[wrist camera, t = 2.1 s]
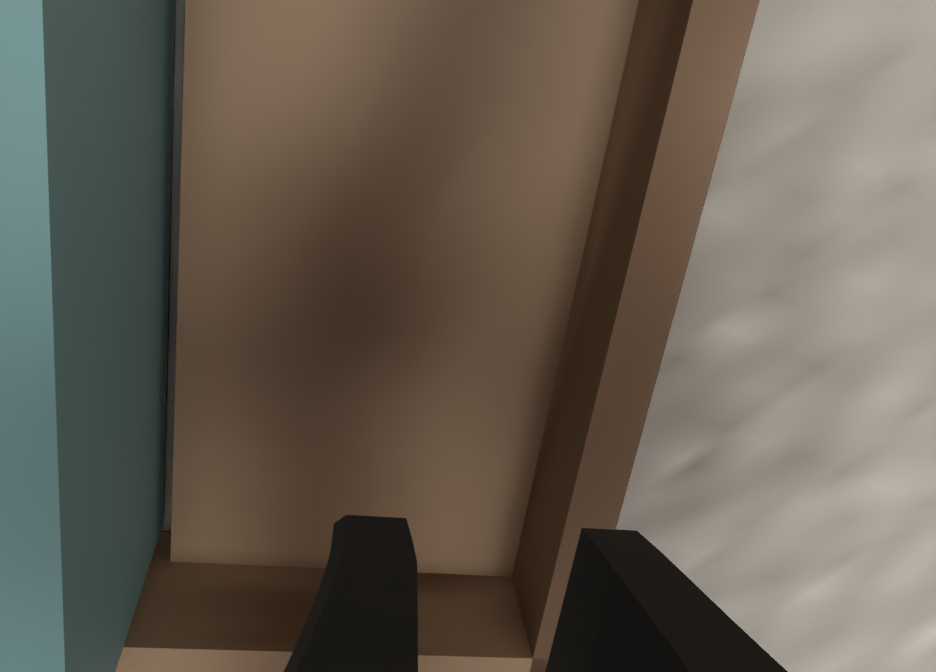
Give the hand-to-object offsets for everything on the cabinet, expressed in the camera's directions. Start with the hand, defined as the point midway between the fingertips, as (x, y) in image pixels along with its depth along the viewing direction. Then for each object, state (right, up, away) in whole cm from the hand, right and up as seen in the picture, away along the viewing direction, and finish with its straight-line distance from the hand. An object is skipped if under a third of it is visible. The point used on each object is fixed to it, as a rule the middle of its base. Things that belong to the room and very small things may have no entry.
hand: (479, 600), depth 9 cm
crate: (-2, +4, +8) cm, 9 cm away
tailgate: (-7, +4, +7) cm, 11 cm away
